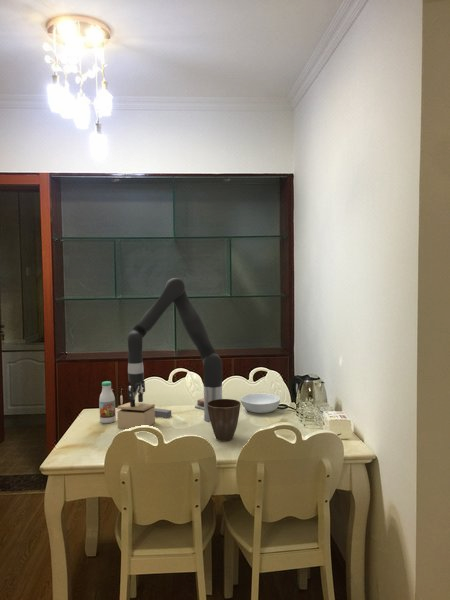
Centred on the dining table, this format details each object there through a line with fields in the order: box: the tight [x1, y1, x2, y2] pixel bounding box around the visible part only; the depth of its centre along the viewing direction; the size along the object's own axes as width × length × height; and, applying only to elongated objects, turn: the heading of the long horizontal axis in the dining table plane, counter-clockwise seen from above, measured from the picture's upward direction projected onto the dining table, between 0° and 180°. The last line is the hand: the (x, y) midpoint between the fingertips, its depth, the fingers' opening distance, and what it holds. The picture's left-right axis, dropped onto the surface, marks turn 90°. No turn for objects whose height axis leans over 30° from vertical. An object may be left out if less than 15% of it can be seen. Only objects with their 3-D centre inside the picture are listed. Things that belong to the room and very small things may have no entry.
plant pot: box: [207, 398, 242, 442], centre depth 215 cm, size 15×15×16 cm
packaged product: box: [194, 397, 204, 411], centre depth 262 cm, size 18×5×10 cm
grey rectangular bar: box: [155, 407, 172, 419], centre depth 251 cm, size 14×4×4 cm, turn 67°
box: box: [116, 405, 156, 430], centre depth 236 cm, size 14×12×8 cm
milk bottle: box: [98, 380, 117, 424], centre depth 243 cm, size 8×8×20 cm
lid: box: [117, 402, 156, 411], centre depth 236 cm, size 14×12×1 cm
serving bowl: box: [240, 392, 281, 414], centre depth 257 cm, size 21×21×7 cm
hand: (136, 404), depth 237 cm, fingers open, 8 cm apart
